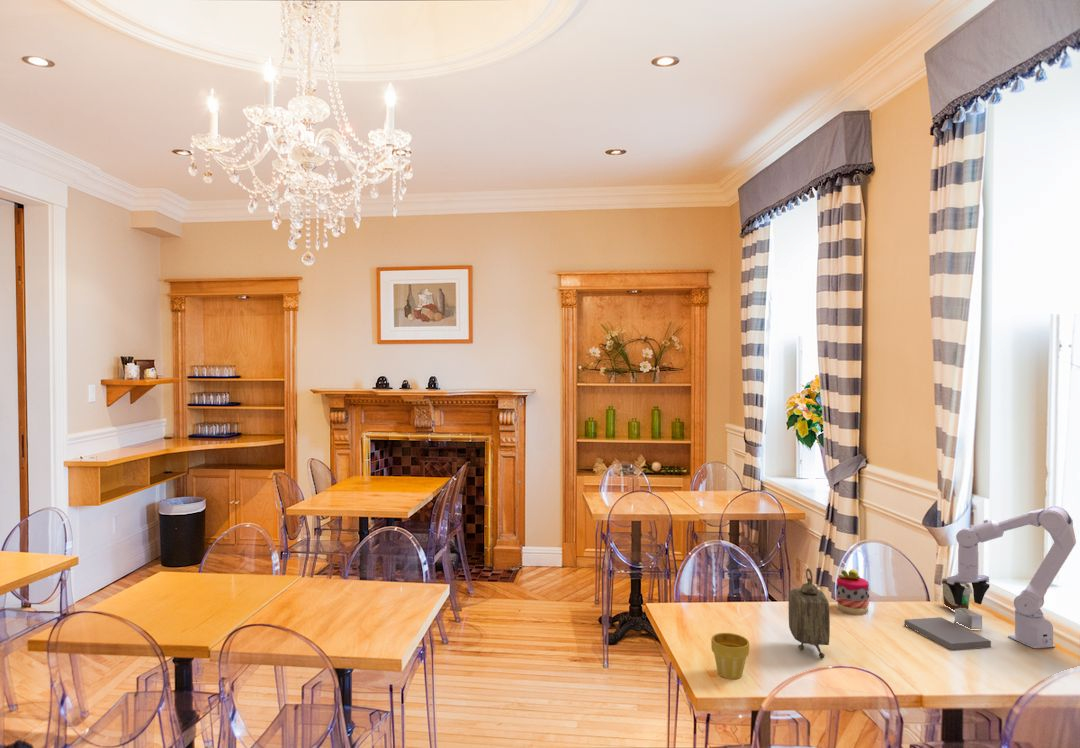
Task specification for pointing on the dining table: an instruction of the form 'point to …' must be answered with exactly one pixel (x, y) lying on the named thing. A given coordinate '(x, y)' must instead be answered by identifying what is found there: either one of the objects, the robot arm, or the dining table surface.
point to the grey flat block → (948, 633)
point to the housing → (968, 618)
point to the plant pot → (730, 654)
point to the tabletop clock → (809, 615)
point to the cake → (852, 593)
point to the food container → (949, 597)
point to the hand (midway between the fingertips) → (968, 604)
